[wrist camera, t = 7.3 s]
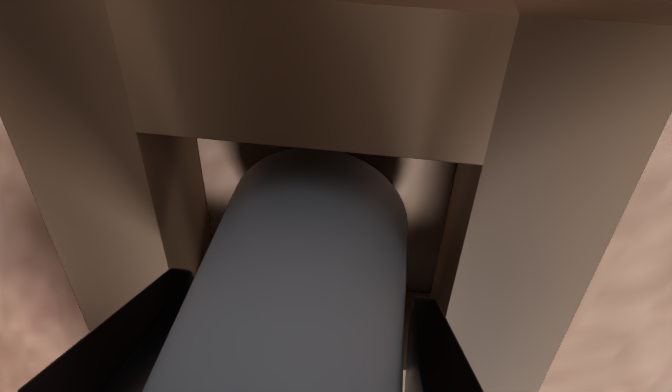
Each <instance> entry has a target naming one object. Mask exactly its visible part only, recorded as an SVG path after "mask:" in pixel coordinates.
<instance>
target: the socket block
mask: <svg viewBox="0 0 672 392" xmlns="http://www.w3.org/2000/svg"><path fill="white" fill-rule="evenodd" d="M671 112H672V0H0V116H1V119H2V121H3V124H4V126H5V128H6V131H7V133H8V136H9V138H10V140H11V143H12V145H13V148H14V150H15V153H16V155H17V157H18V160H19V162H20V165H21V167H22V169H23V172H24V174H25V177H26V179H27V182H28V184H29V186H30V189H31V191H32V194H33V196H34V198H35V201H36V203H37V206H38V208H39V210H40V213H41V215H42V218H43V220H44V223H45V225H46V227H47V230H48V232H49V235H50V237H51V239H52V242H53V244H54V247H55V249H56V252H57V254H58V256H59V259H60V261H61V264H62V266H63V268H64V271H65V273H66V276H67V278H68V281H69V283H70V285H71V288H72V290H73V293H74V295H75V297H76V300H77V302H78V305H79V307H80V310H81V312H82V314H83V317H84V319H85V322H86V324H87V326H88V329H89V331H90V332H91V331H92V330H94V329H95V328H96V327H97V326H99V325H100V324H101V323H102V322H103V321H105V320H106V319H107V318H108V317H110V316H111V315H112V314H113V313H115V312H116V311H117V310H118V309H120V308H121V307H122V306H123V305H125V304H126V303H127V302H128V301H130V300H131V299H132V298H133V297H135V296H136V295H137V294H138V293H140V292H141V291H142V290H143V289H145V288H146V287H147V286H148V285H150V284H151V283H152V282H153V281H155V280H156V279H157V278H158V277H160V276H161V275H162V274H163V273H165V272H166V271H167V270H169V269H171V268H181V269H189V270H191V271H192V273H193V275H194V278H195V276H196V274H197V271H198V269H199V267H200V265H201V263H202V261H203V258H204V256H205V254H206V252H207V250H208V247H209V245H210V243H211V241H212V235H211V229H210V223H209V216H208V210H207V204H206V197H205V191H204V185H203V178H202V172H201V166H200V159H199V153H198V147H197V140H196V138H202V139H213V140H224V141H234V142H245V143H255V144H266V145H277V146H287V147H298V148H308V149H319V150H330V151H340V152H351V153H361V154H372V155H383V156H393V157H404V158H414V159H425V160H436V161H446V162H457V163H458V164H457V168H456V173H455V178H454V183H453V188H452V192H451V197H450V202H449V207H448V212H447V216H446V221H445V226H444V231H443V236H442V241H441V245H440V250H439V255H438V260H437V265H436V269H435V274H434V279H433V284H432V289H431V293H430V294H428V293H419V292H411V291H406V294H405V327H404V360H403V392H405V375H406V358H407V341H408V328H409V321H410V316H411V310H412V304H413V300H414V298H415V297H416V296H421V297H430V298H434V299H436V300H437V302H438V303H439V305H440V307H441V309H442V311H443V313H444V315H445V317H446V319H447V321H448V323H449V325H450V327H451V329H452V331H453V333H454V334H455V336H456V338H457V340H458V342H459V344H460V346H461V348H462V350H463V352H464V354H465V356H466V358H467V360H468V362H469V364H470V366H471V368H472V369H473V371H474V373H475V375H476V377H477V379H478V381H479V383H480V385H481V387H482V389H483V391H484V392H538V391H539V389H540V387H541V385H542V382H543V380H544V378H545V376H546V374H547V372H548V370H549V368H550V366H551V364H552V361H553V359H554V357H555V355H556V353H557V351H558V349H559V347H560V345H561V343H562V340H563V338H564V336H565V334H566V332H567V330H568V328H569V326H570V324H571V322H572V320H573V317H574V315H575V313H576V311H577V309H578V307H579V305H580V303H581V301H582V299H583V296H584V294H585V292H586V290H587V288H588V286H589V284H590V282H591V280H592V278H593V276H594V273H595V271H596V269H597V267H598V265H599V263H600V261H601V259H602V257H603V255H604V252H605V250H606V248H607V246H608V244H609V242H610V240H611V238H612V236H613V234H614V231H615V229H616V227H617V225H618V223H619V221H620V219H621V217H622V215H623V213H624V211H625V208H626V206H627V204H628V202H629V200H630V198H631V196H632V194H633V192H634V190H635V187H636V185H637V183H638V181H639V179H640V177H641V175H642V173H643V171H644V169H645V167H646V164H647V162H648V160H649V158H650V156H651V154H652V152H653V150H654V148H655V146H656V143H657V141H658V139H659V137H660V135H661V133H662V131H663V129H664V127H665V125H666V123H667V120H668V118H669V116H670V114H671Z"/></svg>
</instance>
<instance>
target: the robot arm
mask: <svg viewBox="0 0 672 392" xmlns="http://www.w3.org/2000/svg"><path fill="white" fill-rule="evenodd" d="M193 280H194V275H193V273H192V271H191V270H189V269H181V268H171V269H169V270H167V271H166V272H165V273H163V274H162V275H161V276H160V277H158V278H157V279H156V280H155V281H153V282H152V283H151V284H150V285H148V286H147V287H146V288H145V289H143V290H142V291H141V292H140V293H138V294H137V295H136V296H135V297H133V298H132V299H131V300H130V301H128V302H127V303H126V304H125V305H123V306H122V307H121V308H120V309H118V310H117V311H116V312H115V313H113V314H112V315H111V316H110V317H108V318H107V319H106V320H105V321H103V322H102V323H101V324H100V325H99V326H97V327H96V328H95V329H94V330H92V331H91V332H90V333H89V334H87V335H86V336H85V337H84V338H82V339H81V340H80V341H79V342H77V343H76V344H75V345H74V346H72V347H71V348H70V349H69V350H67V351H66V352H65V353H64V354H62V355H61V356H60V357H59V358H57V359H56V360H55V361H54V362H52V363H51V364H50V365H49V366H47V367H46V368H45V369H44V370H42V371H41V372H40V373H39V374H37V375H36V376H35V377H34V378H32V379H31V380H30V381H29V382H27V383H26V384H25V385H24V386H22V387H21V388H20V389H19V390H18V392H142V391H143V389H144V386H145V384H146V382H147V380H148V378H149V376H150V373H151V371H152V369H153V367H154V365H155V363H156V360H157V358H158V356H159V354H160V352H161V350H162V347H163V345H164V343H165V341H166V339H167V337H168V334H169V332H170V330H171V328H172V326H173V324H174V321H175V319H176V317H177V315H178V313H179V310H180V308H181V306H182V304H183V302H184V300H185V297H186V295H187V293H188V291H189V289H190V287H191V284H192V282H193ZM405 392H484V391H483V389H482V387H481V385H480V383H479V381H478V379H477V377H476V375H475V373H474V371H473V369H472V368H471V366H470V364H469V362H468V360H467V358H466V356H465V354H464V352H463V350H462V348H461V346H460V344H459V342H458V340H457V338H456V336H455V334H454V333H453V331H452V329H451V327H450V325H449V323H448V321H447V319H446V317H445V315H444V313H443V311H442V309H441V307H440V305H439V303H438V302H437V300H436V299H434V298H430V297H421V296H416V297H415V298H414V300H413V304H412V310H411V316H410V321H409V328H408V341H407V358H406V375H405Z"/></svg>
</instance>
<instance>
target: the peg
mask: <svg viewBox="0 0 672 392" xmlns="http://www.w3.org/2000/svg"><path fill="white" fill-rule="evenodd" d="M407 229H408V221H407V213H406V210H405V206H404V203H403V201H402V199H401V197H400V195H399V193H398V192H397V190H396V189H395V187H394V186H393V185H392V184H391V183H390V182H389V180H388V179H387V178H386V177H385V176H384V175H382V174H381V173H380V172H379V171H378V170H376V169H375V168H373V167H372V166H370V165H369V164H367V163H366V162H364V161H362V160H360V159H358V158H356V157H353V156H350V155H348V154H345V153H342V152H338V151H330V150H319V149H308V148H295V149H290V150H284V151H281V152H278V153H275V154H272V155H270V156H268V157H266V158H264V159H262V160H260V161H259V162H257V163H256V164H254V165H253V166H252V167H251V168H250V169H249V170H248V171H247V172H246V173H245V174H244V175H243V177H242V178H241V179H240V181H239V183H238V185H237V187H236V189H235V191H234V193H233V195H232V198H231V200H230V202H229V204H228V206H227V208H226V211H225V213H224V215H223V217H222V219H221V221H220V224H219V226H218V228H217V230H216V232H215V234H214V237H213V239H212V241H211V243H210V245H209V247H208V250H207V252H206V254H205V256H204V258H203V261H202V263H201V265H200V267H199V269H198V271H197V274H196V276H195V278H194V280H193V282H192V284H191V287H190V289H189V291H188V293H187V295H186V297H185V300H184V302H183V304H182V306H181V308H180V310H179V313H178V315H177V317H176V319H175V321H174V324H173V326H172V328H171V330H170V332H169V334H168V337H167V339H166V341H165V343H164V345H163V347H162V350H161V352H160V354H159V356H158V358H157V360H156V363H155V365H154V367H153V369H152V371H151V373H150V376H149V378H148V380H147V382H146V384H145V386H144V389H143V391H142V392H403V360H404V327H405V294H406V262H407Z"/></svg>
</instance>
